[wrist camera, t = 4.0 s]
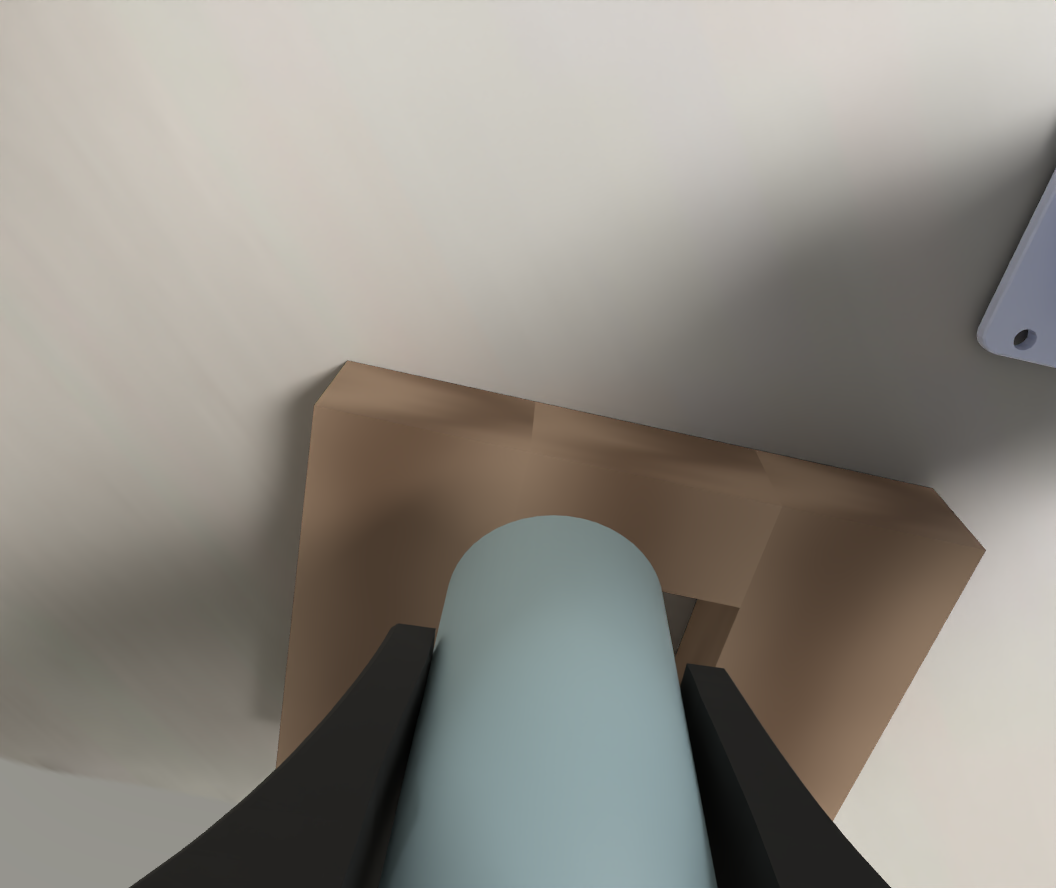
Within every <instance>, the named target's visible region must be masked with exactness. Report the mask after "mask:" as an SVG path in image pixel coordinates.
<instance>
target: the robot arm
mask: <svg viewBox="0 0 1056 888" xmlns="http://www.w3.org/2000/svg"><path fill="white" fill-rule="evenodd" d="M1025 329H1028V336H1027V338H1026V339H1025V340H1024V342H1022V343H1020V344H1018V345H1014V344H1013V342H1014V338H1015V336H1016V335H1017V334H1018V333H1019V332H1021V331H1023V330H1025ZM977 340H978V342H979V344H980V345H981V346H982V347H983V348H984V349H986V350H987V351H989V352H991V353H993V354H996V355H1001V356H1005V357H1009V358H1014V359H1018V360H1023V361H1027V362H1031V363H1036V364H1040V365H1044V366H1049V367H1053V368H1056V169H1055V171H1054V173H1053V175H1052V177H1051V179H1050V181H1049V183H1048V185H1047V187H1046V189H1045V191H1044V193H1043V195H1042V197H1041V200H1040V202H1039V204H1038V206H1037V208H1036V210H1035V212H1034V214H1033V216H1032V218H1031V220H1030V222H1029V224H1028V226H1027V228H1026V230H1025V232H1024V234H1023V236H1022V239H1021V241H1020V243H1019V245H1018V247H1017V249H1016V251H1015V253H1014V255H1013V257H1012V259H1011V261H1010V263H1009V265H1008V267H1007V269H1006V271H1005V273H1004V275H1003V278H1002V280H1001V282H1000V284H999V286H998V288H997V290H996V292H995V294H994V296H993V298H992V300H991V302H990V304H989V306H988V308H987V310H986V312H985V314H984V317H983V319H982V321H981V323H980V325H979V327H978V331H977ZM435 631H436V628H429V627H422V626H415V625H407V624H400V623H398V624H396V625H395V626H393V627H391V628H390V630H389V632H388V634H387V635H386V637H385V639H384V640H383V642H382V643H381V645H380V647H379V648H378V650H377V651H376V653H375V654H374V656H373V657H372V658H371V660H370V661H369V663H368V664H367V665H366V667H365V668H364V669H363V671H362V672H361V673H360V675H359V676H358V677H357V679H356V680H355V681H354V683H353V684H352V685H351V686H350V688H349V689H348V690H347V691H346V692H345V694H344V695H343V696H342V697H341V699H340V700H339V701H338V702H337V703H336V705H335V706H334V707H333V708H332V710H331V711H330V712H329V713H328V714H327V715H326V717H325V718H324V719H323V720H322V721H321V722H320V723H319V724H318V725H317V727H316V728H315V729H314V730H313V731H312V732H311V733H310V734H309V735H308V736H307V737H306V738H305V740H304V741H303V742H302V743H301V744H300V745H299V746H298V747H297V748H296V749H295V750H294V751H293V752H292V753H291V755H290V756H289V757H288V758H287V759H286V760H285V761H284V762H283V763H282V764H281V765H280V766H279V767H278V768H277V769H275V770H274V771H273V772H272V773H271V774H270V775H269V776H268V777H267V778H266V779H265V780H264V781H263V782H262V783H261V784H260V785H259V786H257V787H256V788H255V789H254V790H253V791H252V792H251V793H250V794H249V795H248V796H247V797H245V798H244V799H243V800H242V801H241V802H240V803H239V804H237V805H236V806H235V807H234V808H233V809H231V810H230V811H229V812H228V813H227V814H225V815H224V816H223V817H222V818H221V819H220V820H218V821H217V822H216V823H215V824H214V825H212V826H211V827H210V828H209V829H208V830H206V832H204V833H203V834H201V835H200V836H199V837H198V838H196V839H195V840H194V841H193V842H191V843H190V844H189V845H188V846H186V847H185V848H183V849H182V850H181V851H180V852H178V853H177V854H175V855H174V856H173V857H171V858H170V859H168V860H167V861H166V862H164V863H163V864H161V865H160V866H159V867H157V868H156V869H155V870H153V871H152V872H150V873H149V874H147V875H146V876H145V877H144V878H142V879H140V880H139V881H138V882H137V883H135V884H134V885H132V886H131V887H129V888H378V887H379V882H380V878H381V874H382V869H383V865H384V861H385V856H386V852H387V848H388V844H389V839H390V835H391V831H392V826H393V822H394V818H395V813H396V809H397V805H398V800H399V796H400V792H401V788H402V783H403V779H404V775H405V770H406V766H407V762H408V757H409V753H410V749H411V745H412V740H413V736H414V732H415V727H416V723H417V719H418V715H419V711H420V708H421V704H422V700H423V696H424V691H425V687H426V683H427V679H428V674H429V670H430V666H431V661H432V657H433V650H434V641H435ZM680 690H681V695H682V701H683V706H684V711H685V717H686V722H687V727H688V733H689V738H690V743H691V749H692V754H693V759H694V765H695V770H696V775H697V781H698V786H699V791H700V797H701V802H702V807H703V813H704V818H705V823H706V829H707V834H708V839H709V845H710V850H711V855H712V860H713V866H714V871H715V876H716V882H717V887H718V888H891V887H890V886H889V885H888V884H887V883H886V882H885V881H884V880H883V878H882V877H881V876H880V875H879V874H878V873H877V872H876V871H875V870H874V869H873V868H872V866H871V865H870V864H869V863H868V862H867V861H866V860H865V859H864V858H863V857H862V856H861V854H860V853H859V852H858V851H857V850H856V849H855V848H854V846H853V845H852V844H851V843H850V842H849V841H848V839H847V838H846V837H845V836H844V835H843V834H842V832H841V831H840V830H839V829H838V827H837V826H836V825H835V824H834V823H833V821H832V820H831V819H830V818H829V816H828V815H827V814H826V813H825V811H824V810H823V809H822V808H821V806H820V805H819V804H818V802H817V801H816V800H815V799H814V797H813V796H812V795H811V793H810V792H809V791H808V789H807V788H806V787H805V785H804V784H803V783H802V781H801V780H800V778H799V777H798V776H797V774H796V773H795V771H794V770H793V769H792V767H791V766H790V765H789V763H788V762H787V760H786V759H785V758H784V756H783V755H782V753H781V752H780V751H779V749H778V748H777V746H776V745H775V743H774V742H773V741H772V739H771V738H770V736H769V735H768V733H767V732H766V730H765V729H764V727H763V726H762V724H761V723H760V721H759V720H758V718H757V717H756V715H755V714H754V712H753V711H752V709H751V708H750V706H749V705H748V703H747V702H746V700H745V699H744V697H743V695H742V694H741V692H740V691H739V689H738V688H737V686H736V685H735V683H734V682H733V680H732V679H731V677H730V676H729V674H728V673H727V672H726V670H725V669H724V668H718V667H711V666H704V665H696V664H689V663H687V664H686V668H685V671H684V675H683V678H682V682H681V685H680Z"/></svg>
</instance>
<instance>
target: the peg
mask: <svg viewBox="0 0 1056 888" xmlns="http://www.w3.org/2000/svg"><path fill="white" fill-rule="evenodd" d="M378 888H718V887H717V882H716V876H715V871H714V866H713V860H712V855H711V850H710V845H709V839H708V834H707V829H706V823H705V818H704V813H703V807H702V802H701V797H700V791H699V786H698V781H697V775H696V770H695V765H694V759H693V754H692V749H691V743H690V738H689V733H688V727H687V722H686V717H685V711H684V706H683V701H682V695H681V690H680V685H679V679H678V674H677V669H676V663H675V658H674V653H673V647H672V642H671V637H670V631H669V626H668V621H667V615H666V610H665V605H664V599H663V594H662V589H661V585H660V582H659V579H658V577H657V574H656V572H655V571H654V569H653V567H652V565H651V563H650V562H649V561H648V559H647V558H646V557H645V555H644V554H643V553H642V552H641V551H640V550H639V549H638V548H637V547H636V546H635V545H634V544H633V543H632V542H630V541H629V540H628V539H626V538H625V537H624V536H622V535H621V534H619V533H617V532H615V531H614V530H612V529H610V528H608V527H606V526H603V525H601V524H599V523H596V522H593V521H589V520H586V519H582V518H576V517H570V516H557V515H548V516H536V517H530V518H524V519H521V520H517V521H514V522H511V523H508V524H506V525H503V526H501V527H499V528H496V529H495V530H493V531H491V532H490V533H488V534H486V535H485V536H483V537H482V538H481V539H480V540H478V541H477V542H476V543H474V544H473V545H472V546H471V547H470V549H469V550H468V551H467V552H466V553H465V554H464V555H463V557H462V558H461V559H460V561H459V562H458V564H457V566H456V568H455V570H454V572H453V574H452V576H451V579H450V582H449V585H448V590H447V594H446V598H445V602H444V607H443V611H442V615H441V620H440V624H439V628H438V633H437V637H436V641H435V645H434V650H433V657H432V661H431V666H430V670H429V674H428V679H427V683H426V687H425V691H424V696H423V700H422V704H421V708H420V711H419V715H418V719H417V723H416V727H415V732H414V736H413V740H412V745H411V749H410V753H409V757H408V762H407V766H406V770H405V775H404V779H403V783H402V788H401V792H400V796H399V800H398V805H397V809H396V813H395V818H394V822H393V826H392V831H391V835H390V839H389V844H388V848H387V852H386V856H385V861H384V865H383V869H382V874H381V878H380V882H379V887H378Z"/></svg>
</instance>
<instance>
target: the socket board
mask: <svg viewBox="0 0 1056 888" xmlns="http://www.w3.org/2000/svg"><path fill="white" fill-rule="evenodd" d="M548 515H557V516H570V517H576V518H582V519H586V520H589V521H593V522H596V523H599V524H601V525H603V526H606V527H608V528H610V529H612V530H614V531H615V532H617V533H619V534H621V535H622V536H624V537H625V538H626V539H628V540H629V541H630V542H632V543H633V544H634V545H635V546H636V547H637V548H638V549H639V550H640V551H641V552H642V553H643V554H644V555H645V557H646V558H647V559H648V561H649V562H650V563H651V565H652V567H653V569H654V571H655V572H656V574H657V577H658V579H659V582H660V585H661V589H662V592H666V593H671V594H676V595H681V596H686V597H690V598H695V599H697V602H696V604H695V607H694V609H693V612H692V615H691V617H690V620H689V622H688V625H687V628H686V630H685V633H684V635H683V638H682V641H681V643H680V646H679V648H678V651H677V654H676V656H675V663H676V669H677V674H678V679H679V685H681V682H682V678H683V675H684V671H685V668H686V664H687V663H689V664H696V665H704V666H711V667H718V668H724V669H725V670H726V672H727V673H728V674H729V676H730V677H731V679H732V680H733V682H734V683H735V685H736V686H737V688H738V689H739V691H740V692H741V694H742V695H743V697H744V699H745V700H746V702H747V703H748V705H749V706H750V708H751V709H752V711H753V712H754V714H755V715H756V717H757V718H758V720H759V721H760V723H761V724H762V726H763V727H764V729H765V730H766V732H767V733H768V735H769V736H770V738H771V739H772V741H773V742H774V743H775V745H776V746H777V748H778V749H779V751H780V752H781V753H782V755H783V756H784V758H785V759H786V760H787V762H788V763H789V765H790V766H791V767H792V769H793V770H794V771H795V773H796V774H797V776H798V777H799V778H800V780H801V781H802V783H803V784H804V785H805V787H806V788H807V789H808V791H809V792H810V793H811V795H812V796H813V797H814V799H815V800H816V801H817V802H818V804H819V805H820V806H821V808H822V809H823V810H824V811H825V813H826V814H827V815H828V816H829V818H830V819H831V820H832V821H833V820H834V818H835V816H836V815H837V813H838V811H839V809H840V808H841V806H842V804H843V802H844V800H845V799H846V797H847V795H848V793H849V792H850V790H851V788H852V786H853V784H854V783H855V781H856V779H857V777H858V776H859V774H860V772H861V770H862V769H863V767H864V765H865V763H866V761H867V760H868V758H869V756H870V754H871V753H872V751H873V749H874V747H875V746H876V744H877V742H878V740H879V738H880V737H881V735H882V733H883V731H884V730H885V728H886V726H887V724H888V723H889V721H890V719H891V717H892V715H893V714H894V712H895V710H896V708H897V707H898V705H899V703H900V701H901V699H902V698H903V696H904V694H905V692H906V691H907V689H908V687H909V685H910V684H911V682H912V680H913V678H914V676H915V675H916V673H917V671H918V669H919V668H920V666H921V664H922V662H923V661H924V659H925V657H926V655H927V653H928V652H929V650H930V648H931V646H932V645H933V643H934V641H935V639H936V638H937V636H938V634H939V632H940V630H941V629H942V627H943V625H944V623H945V622H946V620H947V618H948V616H949V615H950V613H951V611H952V609H953V607H954V606H955V604H956V602H957V600H958V599H959V597H960V595H961V593H962V591H963V590H964V588H965V586H966V584H967V583H968V581H969V579H970V577H971V576H972V574H973V572H974V570H975V568H976V567H977V565H978V563H979V561H980V560H981V558H982V556H983V554H984V553H985V551H986V550H985V549H984V547H983V546H982V545H981V544H980V543H979V542H978V540H977V539H976V538H975V537H974V536H973V535H972V533H971V532H970V531H969V530H968V529H967V528H966V526H965V525H964V524H963V523H962V522H961V521H960V519H959V518H958V517H957V516H956V515H955V514H954V512H953V511H952V510H951V509H950V508H949V507H948V505H947V504H946V503H945V502H944V501H943V500H942V498H941V497H940V496H939V495H938V494H937V493H936V491H935V490H934V489H933V488H928V487H924V486H919V485H915V484H910V483H905V482H901V481H896V480H892V479H887V478H883V477H878V476H873V475H869V474H864V473H860V472H855V471H850V470H846V469H841V468H837V467H832V466H828V465H823V464H818V463H814V462H809V461H805V460H800V459H796V458H791V457H786V456H782V455H777V454H773V453H768V452H764V451H759V450H754V449H750V448H745V447H741V446H736V445H732V444H727V443H722V442H718V441H713V440H709V439H704V438H700V437H695V436H690V435H686V434H681V433H677V432H672V431H667V430H663V429H658V428H654V427H649V426H645V425H640V424H635V423H631V422H626V421H622V420H617V419H613V418H608V417H603V416H599V415H594V414H590V413H585V412H581V411H576V410H571V409H567V408H562V407H558V406H553V405H549V404H544V403H539V402H535V401H530V400H526V399H521V398H517V397H512V396H507V395H503V394H498V393H494V392H489V391H485V390H480V389H475V388H471V387H466V386H462V385H457V384H452V383H448V382H443V381H439V380H434V379H430V378H425V377H420V376H416V375H411V374H407V373H402V372H398V371H393V370H388V369H384V368H379V367H375V366H370V365H366V364H361V363H356V362H352V361H347V362H346V363H345V365H344V366H343V367H342V369H341V370H340V371H339V373H338V374H337V375H336V377H335V378H334V379H333V381H332V382H331V383H330V385H329V386H328V387H327V389H326V390H325V391H324V393H323V394H322V395H321V397H320V398H319V399H318V401H317V402H316V403H315V405H314V410H313V419H312V429H311V438H310V448H309V457H308V467H307V476H306V486H305V495H304V505H303V515H302V524H301V534H300V543H299V553H298V562H297V572H296V581H295V591H294V600H293V610H292V619H291V629H290V638H289V648H288V657H287V667H286V676H285V686H284V695H283V705H282V714H281V724H280V733H279V743H278V753H277V762H276V769H277V768H278V767H279V766H280V765H281V764H282V763H283V762H284V761H285V760H286V759H287V758H288V757H289V756H290V755H291V753H292V752H293V751H294V750H295V749H296V748H297V747H298V746H299V745H300V744H301V743H302V742H303V741H304V740H305V738H306V737H307V736H308V735H309V734H310V733H311V732H312V731H313V730H314V729H315V728H316V727H317V725H318V724H319V723H320V722H321V721H322V720H323V719H324V718H325V717H326V715H327V714H328V713H329V712H330V711H331V710H332V708H333V707H334V706H335V705H336V703H337V702H338V701H339V700H340V699H341V697H342V696H343V695H344V694H345V692H346V691H347V690H348V689H349V688H350V686H351V685H352V684H353V683H354V681H355V680H356V679H357V677H358V676H359V675H360V673H361V672H362V671H363V669H364V668H365V667H366V665H367V664H368V663H369V661H370V660H371V658H372V657H373V656H374V654H375V653H376V651H377V650H378V648H379V647H380V645H381V643H382V642H383V640H384V639H385V637H386V635H387V634H388V632H389V630H390V628H391V627H393V626H395V625H396V624H398V623H400V624H407V625H415V626H422V627H429V628H436V631H435V641H436V637H437V633H438V628H439V624H440V620H441V615H442V611H443V607H444V602H445V598H446V594H447V590H448V585H449V582H450V579H451V576H452V574H453V572H454V570H455V568H456V566H457V564H458V562H459V561H460V559H461V558H462V557H463V555H464V554H465V553H466V552H467V551H468V550H469V549H470V547H471V546H472V545H473V544H474V543H476V542H477V541H478V540H480V539H481V538H482V537H483V536H485V535H486V534H488V533H490V532H491V531H493V530H495V529H496V528H499V527H501V526H503V525H506V524H508V523H511V522H514V521H517V520H521V519H524V518H530V517H536V516H548ZM435 641H434V645H435Z"/></svg>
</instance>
